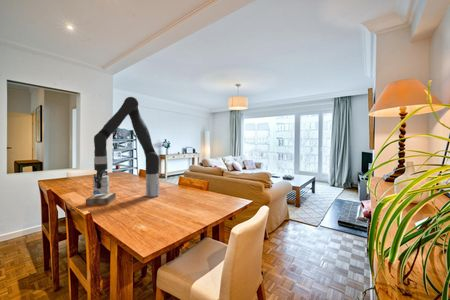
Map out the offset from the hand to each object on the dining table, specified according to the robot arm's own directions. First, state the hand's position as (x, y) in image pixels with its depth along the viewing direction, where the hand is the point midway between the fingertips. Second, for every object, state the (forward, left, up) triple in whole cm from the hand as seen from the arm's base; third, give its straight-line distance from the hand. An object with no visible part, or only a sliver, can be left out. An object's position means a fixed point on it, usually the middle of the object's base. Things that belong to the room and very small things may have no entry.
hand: (101, 187), depth 129 cm
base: (0, 0, -10) cm, 10 cm away
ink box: (0, 0, -4) cm, 4 cm away
